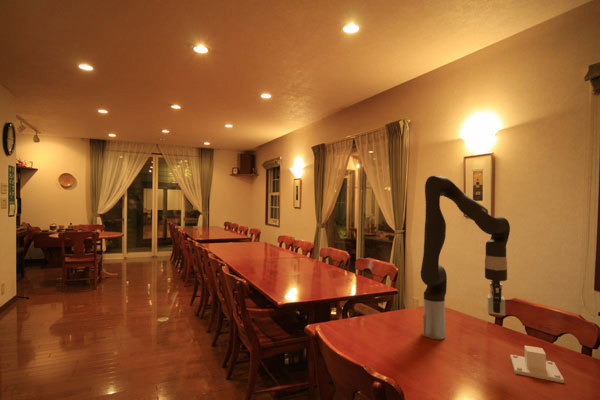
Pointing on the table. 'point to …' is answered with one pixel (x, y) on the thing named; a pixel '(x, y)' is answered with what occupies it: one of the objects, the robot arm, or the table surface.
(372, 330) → the table surface
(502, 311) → the sage brick
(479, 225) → the robot arm
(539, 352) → the cream brick
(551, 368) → the baseplate
